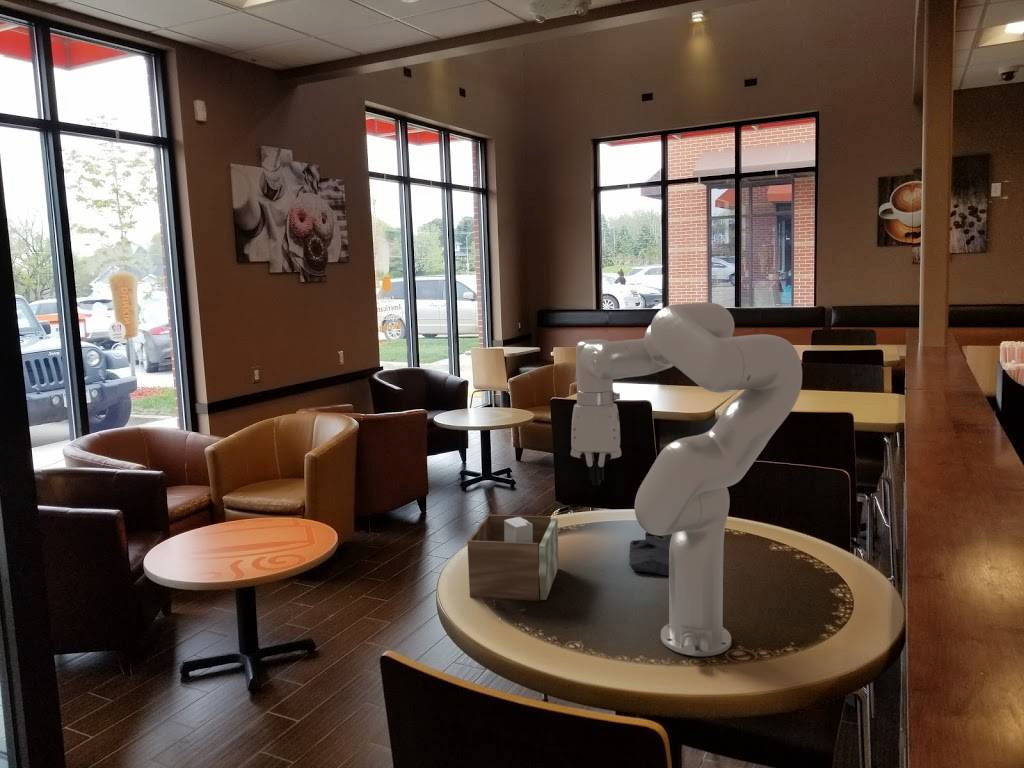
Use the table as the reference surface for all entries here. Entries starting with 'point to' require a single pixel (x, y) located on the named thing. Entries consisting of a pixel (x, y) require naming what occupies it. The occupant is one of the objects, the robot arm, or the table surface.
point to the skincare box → (518, 530)
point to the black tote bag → (651, 554)
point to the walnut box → (505, 560)
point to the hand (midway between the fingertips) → (596, 483)
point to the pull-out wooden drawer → (548, 558)
